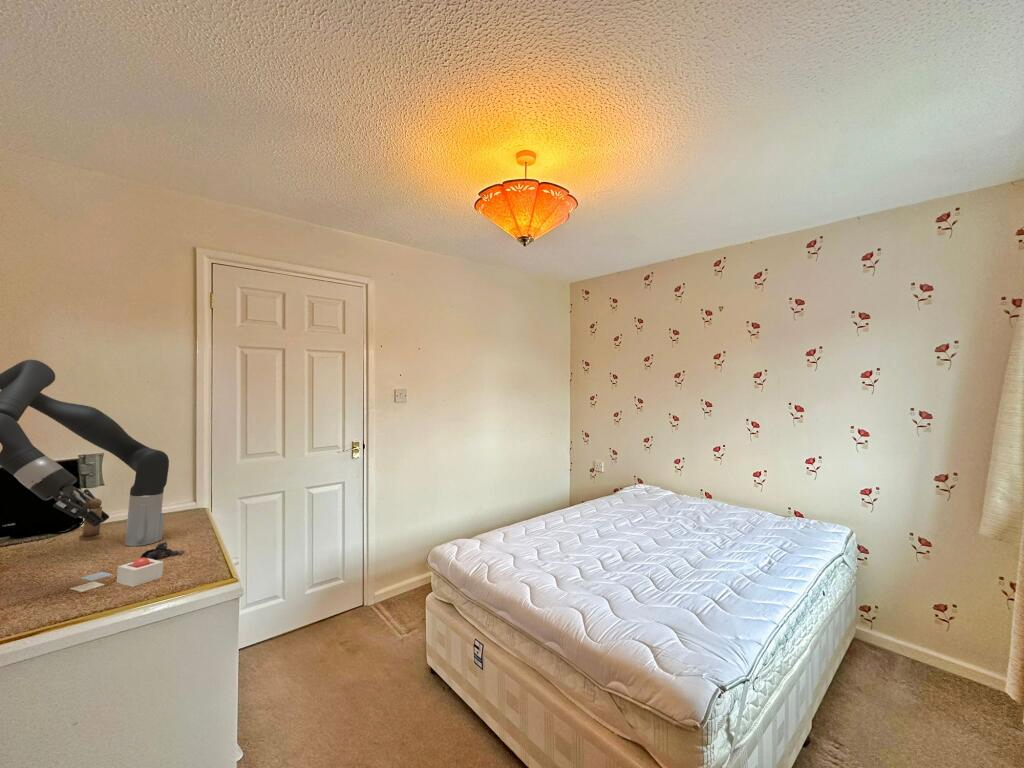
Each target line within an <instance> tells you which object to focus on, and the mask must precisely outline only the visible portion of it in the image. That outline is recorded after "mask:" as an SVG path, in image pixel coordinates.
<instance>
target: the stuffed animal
mask: <svg viewBox="0 0 1024 768" xmlns="http://www.w3.org/2000/svg"><path fill="white" fill-rule="evenodd" d="M185 553H186V550H184V549H180V550H172V549H170V548H168V543H167V541H163V542H159V543H158V544H157V545H156V546H155V548H152V549H148V550H146V551H144V552H143V553H141V556H140V557H139V558H149V559H153V560H158V561H159V560H163V559H164V558H166V556H167V557H175V556H182V555H184V554H185Z"/></svg>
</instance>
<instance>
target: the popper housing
mask: <svg viewBox="0 0 1024 768" xmlns="http://www.w3.org/2000/svg"><path fill="white" fill-rule="evenodd" d="M147 559H149V558H147ZM149 561H150V563H151V564H149V565H146V566H142V567H139V568H135V567H132V565H133V563H134V562H135V561H131V562H129V563H125V564H122V565H118V566H117V573H116V583H117V584H121V585H125V586H127V587H132V588H134V587H137V586H139V585H140V586H141V585H143V584H146V583H149V582H153V581H155V580H158V579H161V578H163V571H164V561H162V560H159V559H158V560H154V558H152V559H149Z"/></svg>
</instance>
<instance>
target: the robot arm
mask: <svg viewBox="0 0 1024 768" xmlns="http://www.w3.org/2000/svg"><path fill="white" fill-rule="evenodd" d="M55 380H56V373H55V372H54V369H52V368H51V367H50V366H49V365H48V364H46V363H45V362H42V361H41V360H38V359H25V360H24V361H23V360H22V361H20V362H18V363H16V364H15V365H13V366H11V367H10V368H7V369H6V370H4V371H2V372H1V373H0V444H1V446H2V447H1V450H0V467H1V468H2V469H4V470H5V471H6V472H8V473H9V474H10V475H12V476H13V477H14V478H16V480H18V482H19V483H20V484H22V485H23V486H24V487H25V488H26V489H28V490H30V491H31V492H32V493H33V494H35V495H36V496H37V497H38V498H40V499H41V500H42V501H49V500H51V499H54V500H55V503H54V504H53V505H52V507H53V508H55V509H56V510H59V511H61V512H63V513H64V514H65V515H68V516H70V517H72V518H74V519H77V518H80V519H85V520H86V521H88V522H89V523H90V524H92V525H93V526H97V525H99V524H100V523H101V524H102V523H104V522H106V521H107V520H108V519H110V515H109V514H108V513H107V512H105V511H104V510H102V514H101V517H100V516H99V515H97V514H96V513H95V512H93V511H91V509H90V508H89V507H88V506H87V503H88V501H89V500H91V499H94V498H96V497H95V496H94V494H93V493H92V492H91V491H90V490H89V489H84V490H82V489H81V488H79V487H78V488H77V487H76V486H74V484H75V483H77V481H78V478H77V477H76V476H74V475H73V474H72V473H70V472H69V471H68V470H67V469H65V468H64V467H63V466H62V465H61V464H59V463H58V462H56V461H55V460H54V459H52V458H50V457H48V456H47V455H46V454H44V453H43V452H42V451H41V450H40V449H38V448H37V447H36V446H34V445H33V443H32V441H31V440H30V439H29V436H27V434H26V433H25V431H24V430H23V428H22V426H21V425H20V424H19V423H18V421H20V418H21V417H22V416H23V415H24V413H25V411H26V410H27V408H28V407H30V408H32V409H34V410H36V411H38V412H40V413H41V414H43V415H45V416H47V417H48V418H50V419H52V420H54V421H55V422H57V423H59V424H60V425H62V426H63V427H65V428H66V429H68V430H69V431H71V432H72V433H74V434H75V435H77V436H78V437H80V438H82V439H83V440H85V441H87V442H89V443H91V445H94V446H97V447H98V448H100V449H102V450H104V451H107V452H108V453H110V454H112V455H114V456H115V457H117V458H118V459H119V460H120V461H121V462H122V463H124V464H125V465H126V466H127V467H129V468H130V469H131V470H133V471H134V472H135V478H134V483H133V485H132V486H131V487H130V490H129V491H130V492H129V499H128V509H127V510H128V511H127V518H126V519H127V521H126V530H125V531H126V532H125V539H124V540H125V541H124V542H125V543H124V545H125V546H129V547H136V546H137V547H139V546H146V545H151V544H154V543H157V542H158V541H159V542H160V541H162V540H163V532H164V524H165V523H164V521H165V513H164V512H163V502H164V501H163V500H164V491H165V487H166V485H167V482H168V474H169V470H170V469H169V467H170V460H169V456H168V454H167V453H166V452H164V451H163V450H159V449H155V448H152V447H149V446H146V445H145V444H143V443H141V442H139V441H138V440H136V439H135V438H133V437H132V436H131V435H129V433H127V432H126V431H125V429H124V428H123V427H122V426H121V425H120V424H119V423H117V422H116V421H115V420H114V419H113V418H111V416H108V415H107V414H105V413H104V412H102V410H100V409H98V408H96V407H94V406H90V405H89V406H88V405H84V404H78V403H72V402H66V401H61V400H58V399H56V398H52V397H50V396H48V395H46V394H44V393H42V391H43V390H44V389H45V388H48V387H50V385H52V384H53V383H54V382H55ZM101 524H100V525H101Z"/></svg>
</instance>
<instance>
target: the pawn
mask: <svg viewBox="0 0 1024 768" xmlns="http://www.w3.org/2000/svg"><path fill="white" fill-rule="evenodd" d="M102 502H103V501H102V500H101V499H100V498H96V497H95V498H94V499H91V500H89V501H88V503H87V506H88V507H89V508H90V509H91V511H93V512H95V513H96V514H97V515H99V516H100V517H101V514H102V511H103V506H102ZM83 519H84V518H83ZM101 524H102V523H100V524H99V525H97V526H93V525H92V524H90V523H89V522H88V521H86V520H85V519H84V521H83V527H82V534H81V535H79V536H78V541H79V542H93V541H97V540H100V539H102V538H103V533H102V532H100V531H101Z"/></svg>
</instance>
